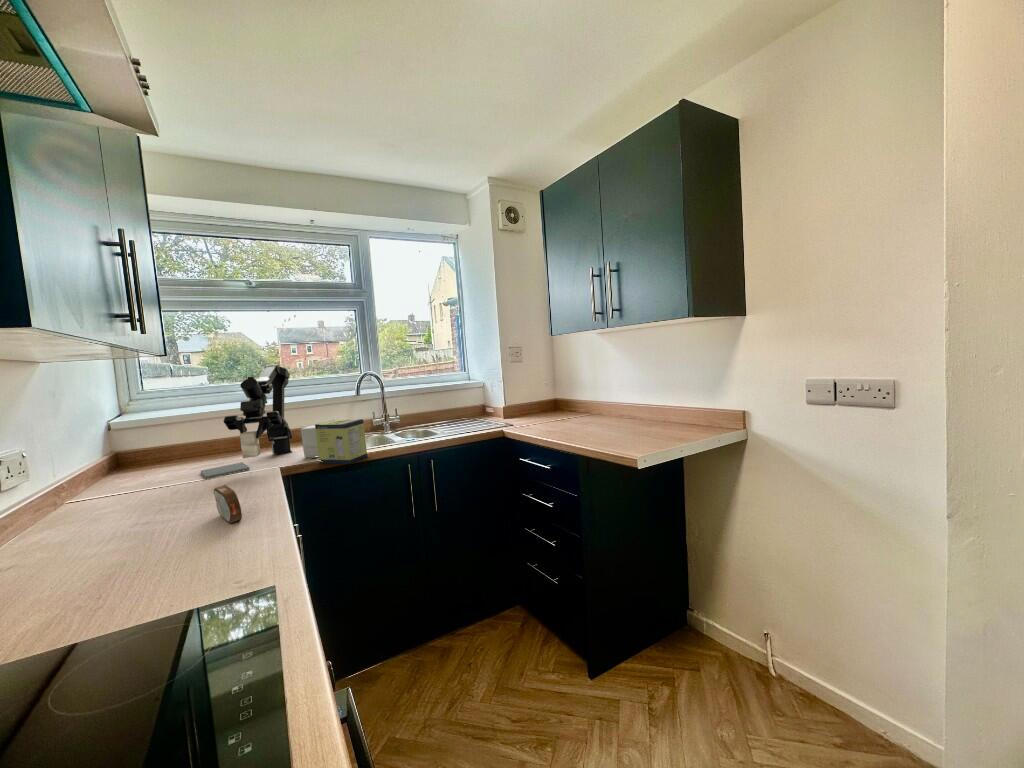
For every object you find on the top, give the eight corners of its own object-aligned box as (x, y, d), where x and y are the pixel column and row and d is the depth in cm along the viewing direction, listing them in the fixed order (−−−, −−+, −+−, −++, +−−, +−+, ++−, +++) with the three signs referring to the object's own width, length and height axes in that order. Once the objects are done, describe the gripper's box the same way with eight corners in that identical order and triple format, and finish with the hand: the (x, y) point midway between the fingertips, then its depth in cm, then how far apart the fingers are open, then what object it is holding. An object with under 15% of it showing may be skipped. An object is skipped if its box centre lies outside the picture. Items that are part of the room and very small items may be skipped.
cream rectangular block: (247, 455, 161) (244, 432, 161) (260, 454, 162) (257, 430, 162) (242, 458, 157) (239, 434, 156) (256, 456, 158) (253, 432, 157)
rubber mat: (242, 464, 177) (242, 462, 176) (249, 469, 166) (249, 467, 166) (201, 473, 167) (200, 470, 167) (205, 479, 157) (205, 476, 157)
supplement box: (329, 452, 186) (326, 424, 185) (320, 457, 179) (316, 427, 178) (313, 453, 187) (310, 425, 186) (303, 458, 179) (300, 428, 178)
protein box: (337, 456, 178) (333, 419, 177) (368, 456, 173) (364, 418, 171) (318, 463, 168) (313, 424, 167) (350, 464, 163) (345, 423, 162)
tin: (244, 523, 109) (239, 491, 108) (229, 527, 107) (225, 495, 106) (228, 511, 119) (224, 481, 119) (215, 515, 117) (211, 485, 116)
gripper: (222, 395, 161) (212, 429, 151) (276, 390, 165) (270, 423, 155) (233, 413, 169) (225, 446, 160) (284, 408, 173) (279, 440, 163)
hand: (249, 438), depth 159 cm, fingers closed on cream rectangular block, 4 cm apart
